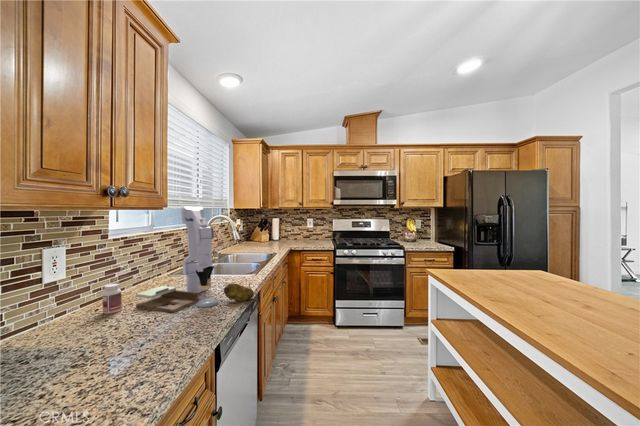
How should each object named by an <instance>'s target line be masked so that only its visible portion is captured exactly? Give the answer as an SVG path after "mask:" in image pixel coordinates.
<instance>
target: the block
mask: <svg viewBox="0 0 640 426" xmlns="http://www.w3.org/2000/svg"><path fill="white" fill-rule="evenodd" d="M211 288H212V278H208V280H207V285H206V286H201V284H200V281H199V290H205V291H208V290H210V289H211Z"/></svg>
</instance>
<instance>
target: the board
mask: <svg viewBox="0 0 640 426" xmlns="http://www.w3.org/2000/svg"><path fill="white" fill-rule="evenodd" d="M198 301H200V298H198V293H196V292H187V290H177V289H176V290H175V291H172V292H169V293H166V294H163V295H160V296H158V297H155V298H152V299H150V298H149V299H147V300H145V301H142V302H139V303H137V304H135V307H136V308H140V309H147V310H152V311H153V310H155V311H160V312H165V313H166V312H167V313H172V314H173V313H176V312H178V311H180V310H181V311H182V309H185V308H187V307H190V306H192V305H194V304H196V303H197V302H198ZM168 304H170V305H171V306H167V305H168Z"/></svg>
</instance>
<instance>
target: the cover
mask: <svg viewBox="0 0 640 426" xmlns="http://www.w3.org/2000/svg"><path fill="white" fill-rule="evenodd" d="M175 290H177V286H176V287H175V286H174V287H173V286H166V285H161V286H157V287H153V288H150V289H148V290H144V291H141V292H138V293H136V294H135V297H137V298H143V299H149V300H150V299H153V298H156V297H158V296H161V295H163V294H166V293H169V292H172V291H175Z"/></svg>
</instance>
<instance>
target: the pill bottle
mask: <svg viewBox="0 0 640 426" xmlns="http://www.w3.org/2000/svg"><path fill="white" fill-rule="evenodd" d="M104 290H105V291H103V292H102V312H103V314H105V315H108V314H115V313H119V312H120V311H121V310H122V307H123V306H122V305H123V304H122V303H123V302H122V300H123V299H122V289H120V284H119V283H110V284H106V285H104Z"/></svg>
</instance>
